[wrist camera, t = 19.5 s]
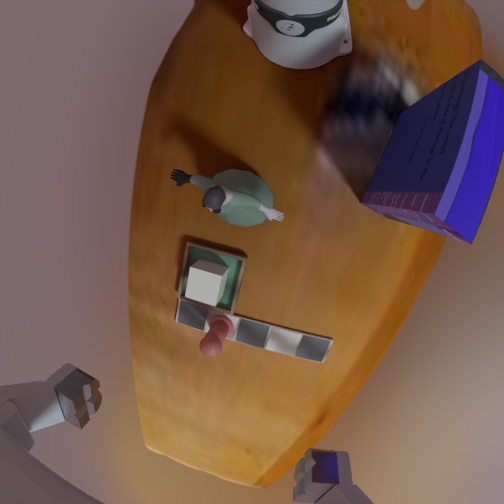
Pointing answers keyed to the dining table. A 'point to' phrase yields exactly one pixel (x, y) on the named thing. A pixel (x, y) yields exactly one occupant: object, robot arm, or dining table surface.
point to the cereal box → (444, 156)
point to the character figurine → (234, 196)
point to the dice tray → (217, 256)
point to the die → (206, 282)
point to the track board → (257, 333)
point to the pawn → (216, 335)
